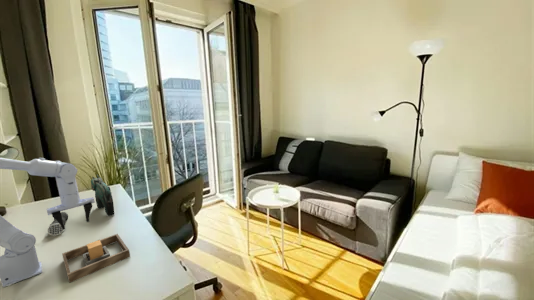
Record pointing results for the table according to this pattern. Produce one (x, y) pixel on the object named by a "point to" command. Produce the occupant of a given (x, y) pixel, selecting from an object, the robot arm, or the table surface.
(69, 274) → the walled box
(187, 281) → the table surface
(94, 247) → the block
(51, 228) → the flashlight
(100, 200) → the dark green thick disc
